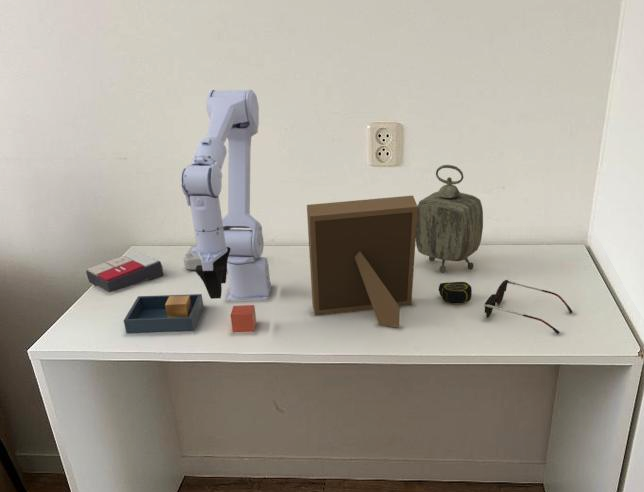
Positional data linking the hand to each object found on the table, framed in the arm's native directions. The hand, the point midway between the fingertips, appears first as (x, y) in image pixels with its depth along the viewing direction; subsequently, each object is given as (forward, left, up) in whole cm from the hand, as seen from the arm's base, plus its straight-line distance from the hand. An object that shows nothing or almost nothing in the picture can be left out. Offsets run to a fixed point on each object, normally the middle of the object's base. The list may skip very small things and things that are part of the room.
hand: (218, 290), depth 154 cm
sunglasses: (-66, +1, -9) cm, 66 cm away
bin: (+13, -3, -8) cm, 16 cm away
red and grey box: (+29, -28, -9) cm, 41 cm away
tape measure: (-51, -9, -9) cm, 52 cm away
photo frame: (-31, -2, -9) cm, 32 cm away
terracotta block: (-5, +2, -8) cm, 10 cm away
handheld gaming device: (+7, -35, -9) cm, 37 cm away
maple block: (+10, -3, -8) cm, 13 cm away
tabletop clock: (-51, -27, -9) cm, 58 cm away
